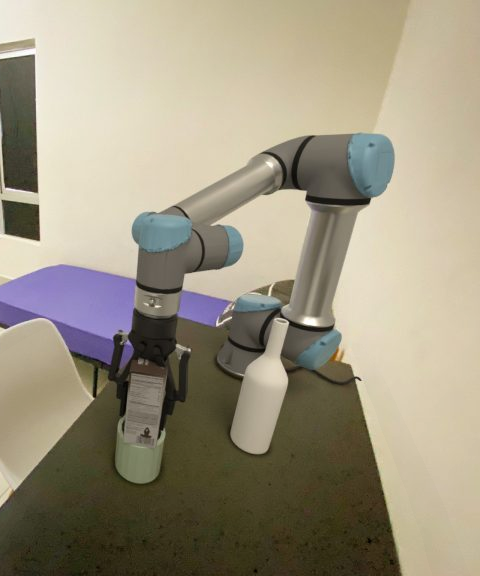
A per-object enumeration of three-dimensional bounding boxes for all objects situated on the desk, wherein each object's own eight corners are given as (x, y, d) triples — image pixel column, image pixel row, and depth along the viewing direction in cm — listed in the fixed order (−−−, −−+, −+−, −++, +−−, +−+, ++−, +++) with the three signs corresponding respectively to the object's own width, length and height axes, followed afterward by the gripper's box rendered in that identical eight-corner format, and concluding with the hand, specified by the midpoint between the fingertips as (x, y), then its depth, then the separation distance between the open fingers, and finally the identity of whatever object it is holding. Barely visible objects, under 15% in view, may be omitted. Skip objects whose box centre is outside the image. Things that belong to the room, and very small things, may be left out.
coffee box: (127, 409, 69) (134, 342, 64) (158, 415, 68) (168, 347, 62) (122, 443, 61) (129, 369, 55) (157, 450, 60) (168, 375, 54)
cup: (164, 454, 70) (169, 420, 67) (153, 491, 62) (159, 454, 59) (123, 439, 73) (126, 406, 70) (108, 472, 65) (110, 437, 62)
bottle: (261, 461, 70) (299, 335, 59) (223, 439, 75) (252, 319, 64) (273, 440, 75) (310, 321, 64) (238, 421, 80) (266, 308, 69)
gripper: (92, 305, 56) (87, 414, 64) (216, 333, 49) (192, 451, 57) (108, 291, 62) (102, 392, 70) (220, 314, 55) (198, 423, 63)
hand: (142, 418), depth 64 cm, fingers closed on coffee box, 7 cm apart
